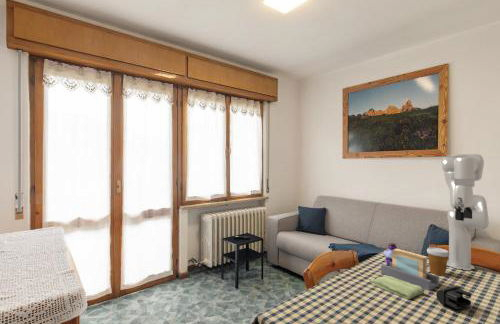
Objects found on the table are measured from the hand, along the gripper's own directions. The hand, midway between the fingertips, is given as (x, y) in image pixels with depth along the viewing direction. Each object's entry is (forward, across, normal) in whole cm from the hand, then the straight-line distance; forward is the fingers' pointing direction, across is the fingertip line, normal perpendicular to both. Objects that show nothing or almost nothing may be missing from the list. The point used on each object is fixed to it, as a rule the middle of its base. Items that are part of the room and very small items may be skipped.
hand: (463, 219), depth 125 cm
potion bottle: (+31, +7, -30) cm, 43 cm away
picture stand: (+30, +18, -16) cm, 39 cm away
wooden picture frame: (+29, +18, -16) cm, 37 cm away
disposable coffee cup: (+31, -3, -12) cm, 33 cm away
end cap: (+31, +29, +6) cm, 42 cm away
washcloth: (+31, +34, -13) cm, 47 cm away
